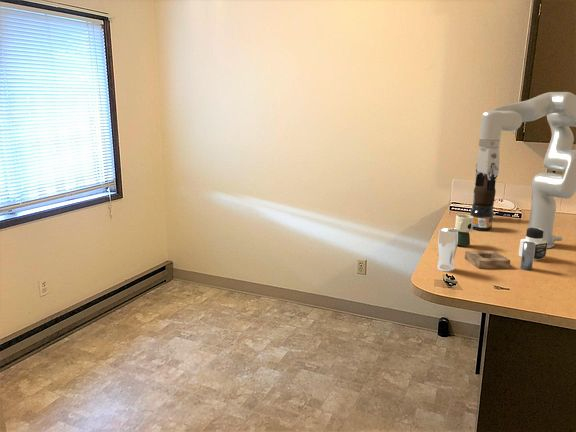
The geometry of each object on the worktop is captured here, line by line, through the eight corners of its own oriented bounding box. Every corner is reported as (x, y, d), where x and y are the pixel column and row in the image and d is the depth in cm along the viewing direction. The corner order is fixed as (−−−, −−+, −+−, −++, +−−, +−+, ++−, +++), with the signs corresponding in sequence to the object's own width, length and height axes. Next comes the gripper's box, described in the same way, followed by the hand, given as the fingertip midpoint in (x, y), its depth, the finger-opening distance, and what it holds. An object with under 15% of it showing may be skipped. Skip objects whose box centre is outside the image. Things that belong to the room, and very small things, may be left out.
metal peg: (528, 266, 188) (531, 241, 186) (534, 270, 184) (537, 244, 182) (518, 266, 188) (521, 241, 185) (524, 270, 184) (527, 244, 181)
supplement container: (482, 232, 237) (484, 207, 234) (464, 227, 246) (466, 203, 243) (496, 229, 242) (499, 205, 240) (478, 225, 251) (481, 201, 248)
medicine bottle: (533, 261, 195) (537, 231, 192) (518, 256, 201) (521, 227, 198) (545, 258, 198) (549, 229, 195) (529, 254, 204) (533, 225, 201)
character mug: (466, 249, 209) (469, 219, 206) (449, 246, 212) (452, 217, 209) (473, 243, 217) (476, 215, 214) (457, 241, 221) (460, 212, 218)
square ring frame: (493, 258, 198) (494, 250, 197) (509, 267, 186) (510, 260, 186) (464, 258, 197) (465, 251, 196) (478, 268, 185) (479, 260, 184)
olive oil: (495, 219, 264) (500, 172, 259) (488, 222, 256) (494, 174, 250) (474, 216, 271) (479, 170, 265) (468, 219, 263) (472, 172, 257)
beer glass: (452, 273, 179) (456, 233, 176) (433, 269, 183) (436, 230, 179) (457, 268, 185) (460, 229, 182) (438, 264, 189) (441, 226, 185)
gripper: (509, 146, 182) (504, 192, 186) (488, 142, 199) (484, 184, 203) (489, 146, 182) (484, 192, 186) (470, 142, 199) (466, 184, 202)
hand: (484, 188), depth 194 cm, fingers open, 9 cm apart
